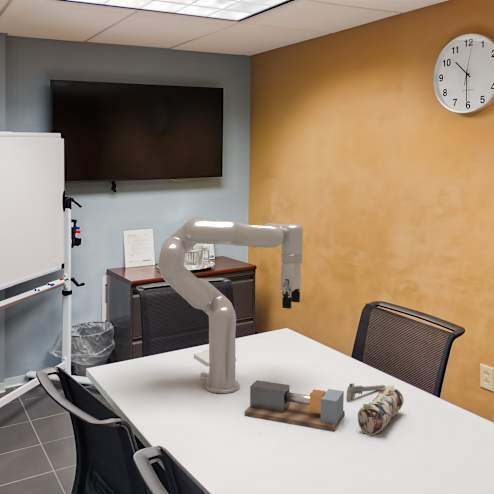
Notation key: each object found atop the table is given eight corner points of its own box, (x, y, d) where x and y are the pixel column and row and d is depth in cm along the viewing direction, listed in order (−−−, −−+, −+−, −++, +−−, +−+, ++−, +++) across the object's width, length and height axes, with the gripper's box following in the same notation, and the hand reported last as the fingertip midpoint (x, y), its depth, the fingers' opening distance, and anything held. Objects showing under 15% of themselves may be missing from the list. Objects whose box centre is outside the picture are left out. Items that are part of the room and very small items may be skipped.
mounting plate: (239, 364, 254) (239, 359, 254) (210, 369, 248) (210, 364, 248) (218, 351, 270) (218, 347, 270) (191, 356, 263) (191, 352, 263)
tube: (277, 406, 204) (277, 389, 203) (281, 401, 208) (282, 384, 207) (332, 415, 197) (332, 397, 196) (335, 410, 201) (336, 392, 200)
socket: (320, 421, 196) (320, 398, 195) (328, 410, 204) (328, 388, 203) (336, 424, 194) (336, 401, 193) (343, 413, 202) (343, 391, 201)
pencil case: (382, 439, 188) (383, 408, 186) (355, 432, 192) (356, 402, 190) (404, 413, 206) (405, 385, 205) (379, 407, 211) (380, 380, 209)
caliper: (348, 402, 215) (349, 385, 214) (346, 401, 216) (346, 384, 215) (387, 388, 228) (388, 371, 227) (385, 387, 229) (385, 371, 228)
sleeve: (250, 407, 207) (250, 386, 206) (256, 400, 212) (256, 380, 211) (283, 413, 202) (283, 391, 201) (289, 406, 208) (289, 385, 206)
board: (244, 415, 204) (244, 411, 204) (259, 401, 216) (259, 396, 215) (334, 431, 192) (334, 426, 192) (344, 415, 204) (344, 410, 204)
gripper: (289, 254, 233) (289, 298, 235) (273, 261, 217) (273, 309, 220) (308, 255, 230) (308, 300, 233) (294, 263, 214) (293, 311, 217)
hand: (291, 305), depth 226 cm, fingers open, 9 cm apart
